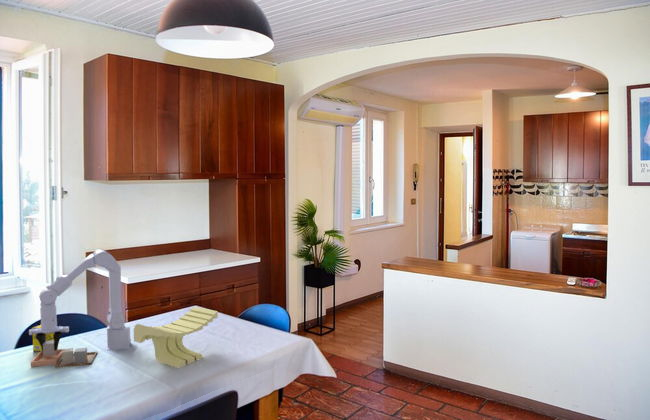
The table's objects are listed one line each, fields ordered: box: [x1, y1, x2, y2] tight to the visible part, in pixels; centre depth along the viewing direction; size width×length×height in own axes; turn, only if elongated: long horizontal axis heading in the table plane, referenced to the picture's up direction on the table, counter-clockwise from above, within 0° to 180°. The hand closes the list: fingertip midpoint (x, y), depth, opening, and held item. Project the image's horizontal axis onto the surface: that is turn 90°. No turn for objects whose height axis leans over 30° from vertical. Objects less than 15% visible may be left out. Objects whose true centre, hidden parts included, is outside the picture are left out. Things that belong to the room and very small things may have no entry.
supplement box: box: [31, 324, 55, 353], centre depth 214 cm, size 6×6×11 cm
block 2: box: [73, 347, 88, 364], centre depth 200 cm, size 4×4×5 cm
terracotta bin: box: [30, 348, 63, 368], centre depth 202 cm, size 9×13×2 cm
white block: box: [61, 347, 74, 365], centre depth 199 cm, size 4×4×5 cm
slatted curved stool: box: [133, 306, 219, 369], centre depth 204 cm, size 30×16×18 cm, turn 146°
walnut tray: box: [54, 351, 98, 369], centre depth 202 cm, size 13×13×1 cm
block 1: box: [43, 340, 57, 356], centre depth 204 cm, size 4×4×5 cm
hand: (50, 350), depth 204 cm, fingers closed on block 1, 4 cm apart
